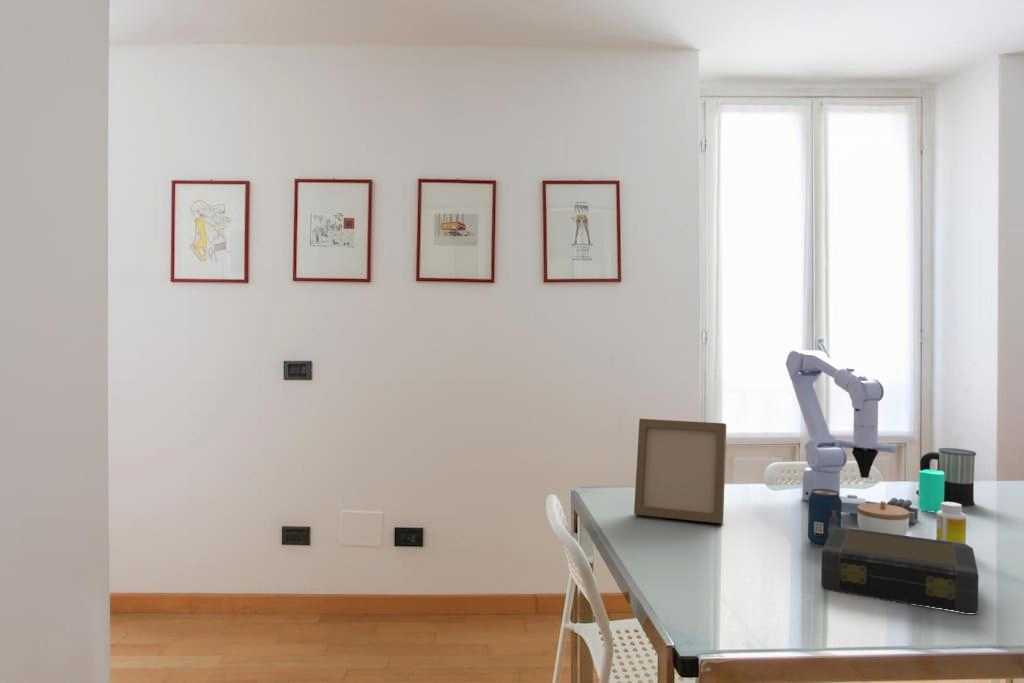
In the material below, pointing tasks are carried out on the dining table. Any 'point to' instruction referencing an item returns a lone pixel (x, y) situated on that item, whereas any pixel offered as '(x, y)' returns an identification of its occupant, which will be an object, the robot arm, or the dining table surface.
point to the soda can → (823, 515)
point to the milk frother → (954, 473)
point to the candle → (931, 490)
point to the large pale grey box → (913, 511)
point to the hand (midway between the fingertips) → (864, 477)
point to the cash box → (901, 569)
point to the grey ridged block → (900, 503)
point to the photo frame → (681, 470)
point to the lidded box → (851, 503)
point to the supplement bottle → (951, 523)
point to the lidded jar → (883, 518)
